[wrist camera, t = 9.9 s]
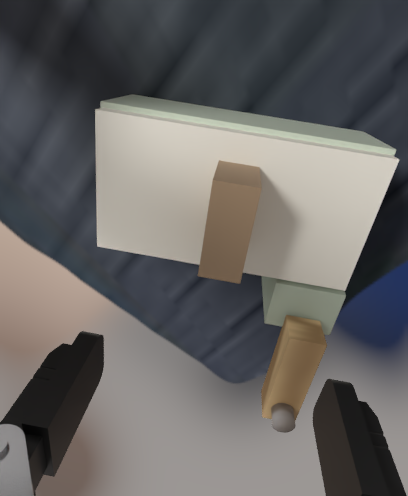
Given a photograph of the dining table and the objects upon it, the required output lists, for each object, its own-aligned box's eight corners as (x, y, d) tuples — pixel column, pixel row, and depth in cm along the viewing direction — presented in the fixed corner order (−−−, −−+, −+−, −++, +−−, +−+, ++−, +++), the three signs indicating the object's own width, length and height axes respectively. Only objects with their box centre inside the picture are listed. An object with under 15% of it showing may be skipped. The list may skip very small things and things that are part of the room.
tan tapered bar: (261, 390, 35) (263, 432, 31) (286, 314, 30) (291, 352, 26) (290, 396, 35) (296, 438, 31) (320, 321, 30) (331, 359, 26)
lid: (103, 238, 31) (70, 277, 25) (103, 107, 26) (61, 118, 20) (340, 281, 30) (362, 330, 24) (391, 154, 25) (434, 180, 19)
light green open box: (127, 245, 40) (95, 291, 32) (132, 94, 32) (91, 103, 24) (312, 278, 39) (329, 335, 31) (363, 131, 32) (405, 154, 23)
